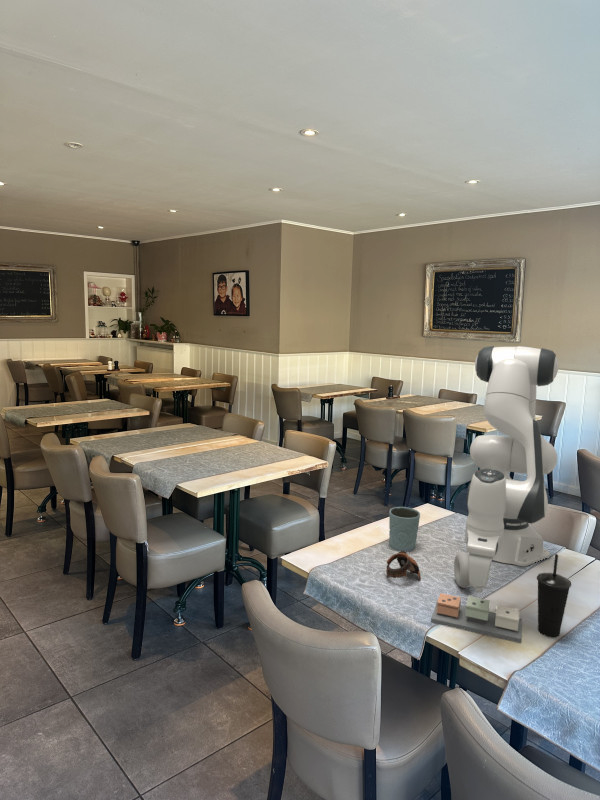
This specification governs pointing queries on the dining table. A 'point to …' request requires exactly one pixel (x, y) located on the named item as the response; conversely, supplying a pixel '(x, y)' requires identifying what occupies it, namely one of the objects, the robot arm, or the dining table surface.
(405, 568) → the brown rounded piece
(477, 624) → the board
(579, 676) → the dining table surface
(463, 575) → the donut
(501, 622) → the cream tile
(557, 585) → the drinking cup
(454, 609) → the terracotta tile
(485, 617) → the sage tile
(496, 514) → the robot arm
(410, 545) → the green cylindrical pot
